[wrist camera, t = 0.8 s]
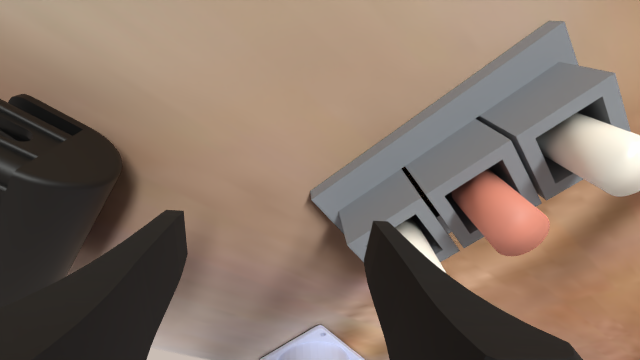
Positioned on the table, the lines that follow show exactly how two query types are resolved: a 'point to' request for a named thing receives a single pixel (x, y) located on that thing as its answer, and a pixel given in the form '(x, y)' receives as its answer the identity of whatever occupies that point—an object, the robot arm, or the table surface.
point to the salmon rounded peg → (502, 214)
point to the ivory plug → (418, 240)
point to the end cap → (47, 192)
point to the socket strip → (473, 144)
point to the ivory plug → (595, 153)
